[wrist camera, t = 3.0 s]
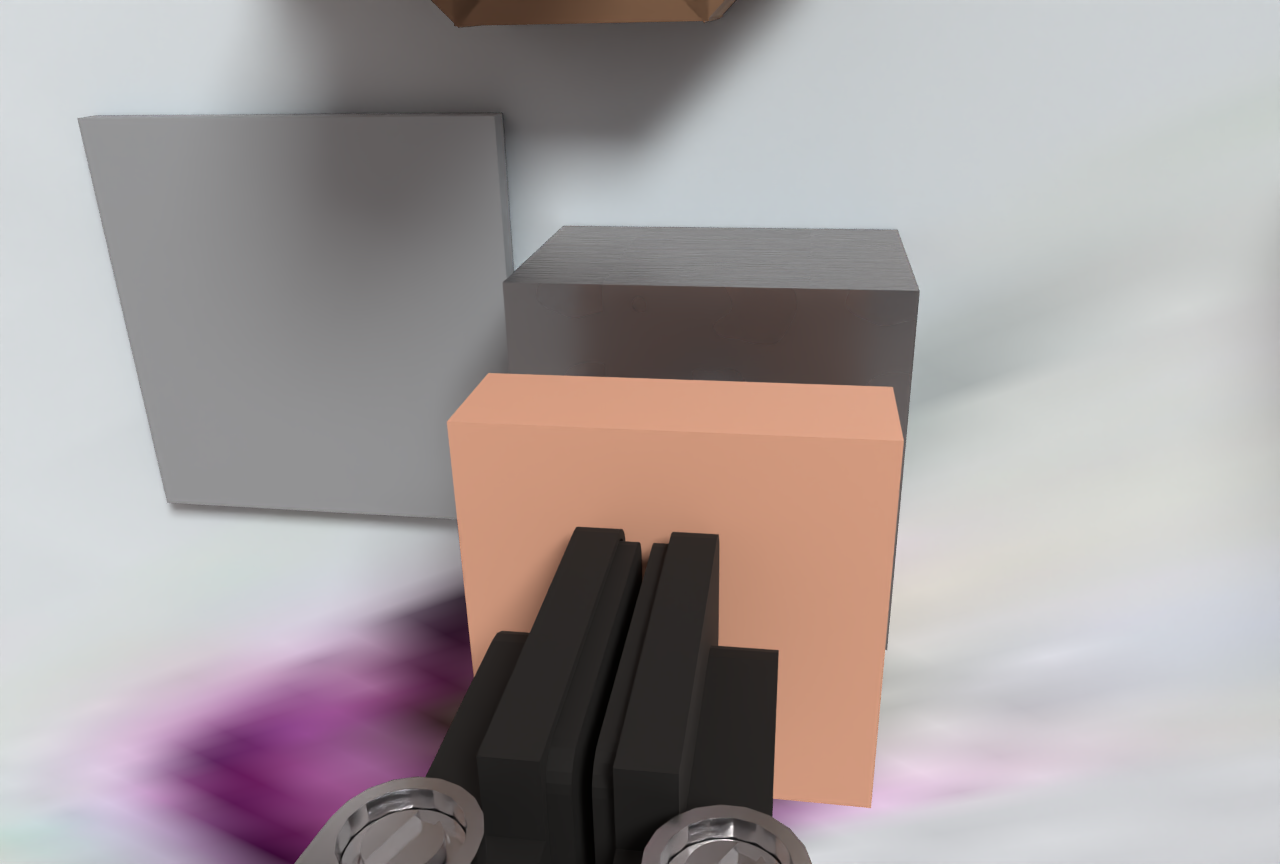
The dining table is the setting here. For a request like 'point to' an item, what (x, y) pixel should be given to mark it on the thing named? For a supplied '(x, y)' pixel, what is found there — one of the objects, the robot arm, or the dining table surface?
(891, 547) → the orange square block
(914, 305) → the block
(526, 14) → the sleeve
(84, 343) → the dining table surface
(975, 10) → the dining table surface
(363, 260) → the mat
